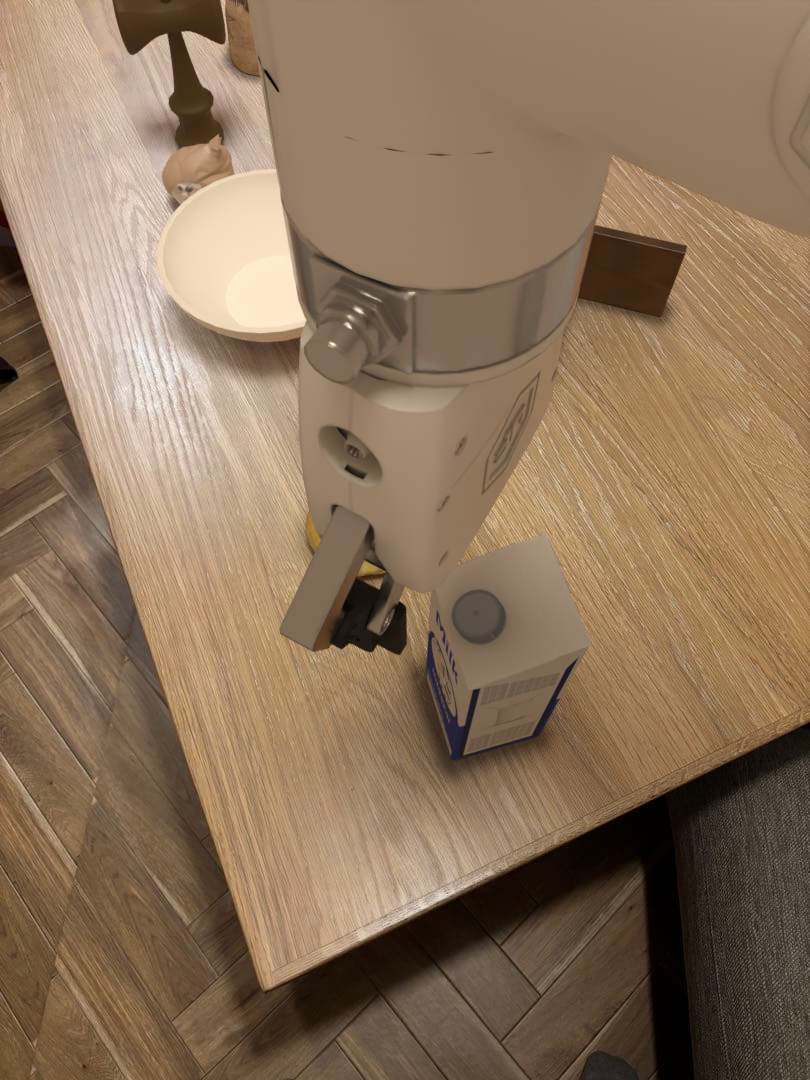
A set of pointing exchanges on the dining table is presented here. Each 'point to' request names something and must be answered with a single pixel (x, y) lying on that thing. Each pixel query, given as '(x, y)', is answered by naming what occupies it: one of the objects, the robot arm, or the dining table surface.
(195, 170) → the garlic bulb
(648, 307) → the shelf
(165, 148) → the dining table surface
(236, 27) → the figurine
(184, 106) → the kendama
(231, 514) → the dining table surface
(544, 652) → the milk carton
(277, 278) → the bowl
